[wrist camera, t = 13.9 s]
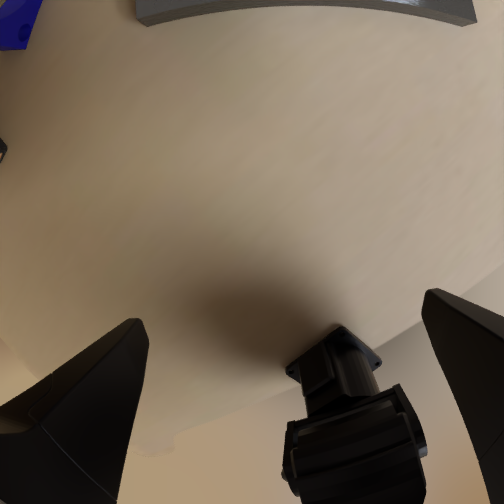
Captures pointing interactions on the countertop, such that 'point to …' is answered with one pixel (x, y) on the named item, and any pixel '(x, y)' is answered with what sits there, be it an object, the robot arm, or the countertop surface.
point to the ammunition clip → (2, 149)
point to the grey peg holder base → (198, 3)
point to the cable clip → (17, 23)
